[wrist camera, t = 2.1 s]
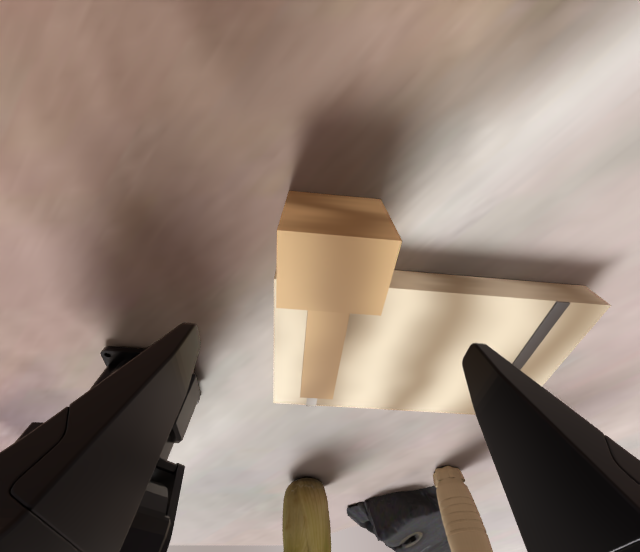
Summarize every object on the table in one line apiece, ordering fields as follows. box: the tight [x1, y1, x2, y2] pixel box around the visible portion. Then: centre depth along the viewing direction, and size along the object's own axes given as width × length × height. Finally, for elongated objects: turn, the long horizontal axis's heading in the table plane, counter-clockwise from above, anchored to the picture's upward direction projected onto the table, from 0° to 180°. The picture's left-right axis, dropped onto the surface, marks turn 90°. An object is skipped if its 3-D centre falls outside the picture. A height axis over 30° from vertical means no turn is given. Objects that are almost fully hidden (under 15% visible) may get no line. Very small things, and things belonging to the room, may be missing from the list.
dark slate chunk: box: [347, 486, 451, 552], centre depth 41 cm, size 15×22×5 cm
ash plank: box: [273, 269, 611, 415], centre depth 21 cm, size 20×12×2 cm, turn 85°
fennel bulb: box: [283, 478, 331, 552], centre depth 31 cm, size 6×5×12 cm
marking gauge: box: [276, 191, 402, 399], centre depth 16 cm, size 5×11×5 cm, turn 175°
